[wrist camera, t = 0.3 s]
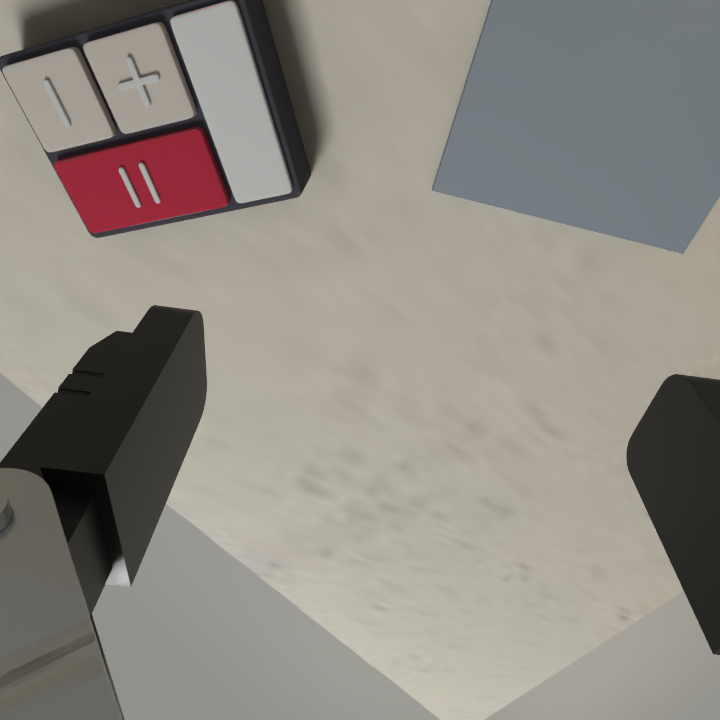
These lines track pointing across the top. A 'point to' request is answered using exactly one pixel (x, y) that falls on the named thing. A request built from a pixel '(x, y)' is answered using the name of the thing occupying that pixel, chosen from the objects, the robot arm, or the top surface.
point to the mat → (593, 116)
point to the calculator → (164, 115)
